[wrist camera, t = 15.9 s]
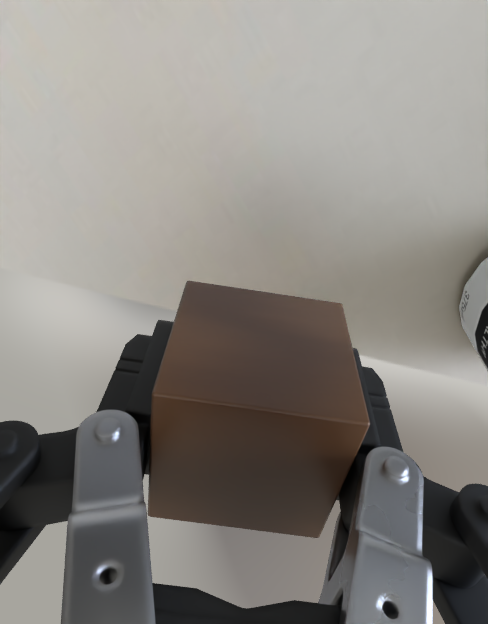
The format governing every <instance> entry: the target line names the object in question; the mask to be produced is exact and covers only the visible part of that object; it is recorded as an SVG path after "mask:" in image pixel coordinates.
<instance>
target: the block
mask: <svg viewBox="0 0 488 624" xmlns="http://www.w3.org/2000/svg"><path fill="white" fill-rule="evenodd" d="M369 426H370V421H369V417H368V412H367V408H366V404H365V400H364V395H363V391H362V387H361V383H360V378H359V374H358V370H357V365H356V361H355V357H354V353H353V348H352V344H351V340H350V335H349V331H348V327H347V323H346V318H345V314H344V310H343V305H342V304H341V303H335V302H329V301H322V300H315V299H308V298H302V297H295V296H288V295H281V294H275V293H268V292H261V291H255V290H248V289H241V288H234V287H228V286H221V285H214V284H208V283H201V282H194V281H187V282H186V285H185V288H184V291H183V294H182V298H181V301H180V304H179V307H178V311H177V314H176V317H175V320H174V323H173V327H172V330H171V333H170V336H169V339H168V343H167V346H166V349H165V352H164V356H163V359H162V362H161V365H160V368H159V372H158V375H157V378H156V381H155V385H154V388H153V391H152V399H151V430H150V462H149V495H148V516H150V517H157V518H165V519H173V520H181V521H188V522H196V523H204V524H212V525H219V526H227V527H235V528H243V529H251V530H258V531H266V532H274V533H282V534H290V535H298V536H305V537H313V538H318V537H319V536H320V534H321V532H322V530H323V528H324V525H325V523H326V521H327V519H328V516H329V514H330V512H331V510H332V507H333V505H334V503H335V501H336V499H337V497H338V494H339V492H340V490H341V488H342V485H343V483H344V481H345V479H346V477H347V474H348V472H349V470H350V468H351V466H352V463H353V461H354V459H355V457H356V455H357V452H358V450H359V448H360V446H361V443H362V441H363V439H364V437H365V435H366V432H367V430H368V428H369Z"/></svg>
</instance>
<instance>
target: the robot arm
mask: <svg viewBox="0 0 488 624" xmlns="http://www.w3.org/2000/svg"><path fill="white" fill-rule="evenodd" d="M173 323H174V322H170V321H163V320H158V322H157V324H156V327H155V330H154V332H153V335H152V336H146V335H140V334H137V335H136V336H135V337H134V338H133V339H132V340H130V341H129V342H128V343H127V344H126V345H125V347H124V350H123V352H122V354H121V357H120V360H119V361H118V364H117V366H116V370H115V371H114V373H113V375H112V378H111V380H110V382H109V385H108V387H107V389H106V391H105V394H104V396H103V398H102V401H101V403H100V405H99V408H98V410H97V412H96V413H94V414H92V415H90V416H89V417H88V418H86V419H85V420H84V421H83V422H82V423H81V425H80V426H79V427H77V428H75V429H72V430H68V431H64V432H57V433H49V434H42V435H38V433H37V431H36V430H35V428H34V427H32V426H31V425H30V424H28V423H25V422H22V421H5V422H0V584H1V583H2V581H3V580H4V579H5V577H6V576H7V575H8V573H9V572H10V571H11V570H12V568H13V567H14V566H15V565H16V563H17V562H18V561H19V559H20V558H21V557H22V555H23V554H24V553H25V552H26V550H27V549H28V548H29V546H30V545H31V544H32V543H33V541H34V540H35V539H36V537H37V536H38V535H39V534H40V532H41V531H42V530H43V528H44V527H45V526H46V525H48V524H53V523H58V522H63V521H68V525H67V541H66V554H65V569H64V585H63V600H62V615H61V624H432V599H433V601H434V603H435V605H436V607H437V609H438V611H439V612H440V614H441V616H442V618H443V620H444V622H445V624H488V486H486V485H482V484H469V485H466V486H465V487H464V488H462V490H461V491H460V492H456V491H454V490H452V489H449V488H447V487H445V486H442V485H440V484H438V483H435V482H433V481H431V480H429V479H427V478H426V477H424V476H423V475H422V472H421V470H420V468H419V466H418V465H417V464H416V462H415V461H414V460H413V459H412V458H410V457H409V456H408V455H406V454H405V453H404V452H403V449H402V446H401V443H400V439H399V436H398V432H397V429H396V426H395V423H394V419H393V415H392V412H391V410H390V405H389V402H388V399H387V398H386V392H385V388H384V385H383V382H382V380H381V379H380V378H379V376H378V375H377V374H376V373H375V371H374V370H373V369H372V368H368V367H362V366H361V362H360V358H359V354H358V350H357V349H355V348H353V353H354V357H355V361H356V365H357V370H358V374H359V378H360V383H361V387H362V391H363V395H364V400H365V404H366V408H367V412H368V417H369V421H370V426H369V428H368V430H367V432H366V435H365V437H364V439H363V441H362V443H361V446H360V448H359V450H358V452H357V455H356V457H355V459H354V461H353V463H352V466H351V468H350V470H349V472H348V474H347V477H346V479H345V481H344V483H343V485H342V488H341V490H340V492H339V494H338V497H337V499H336V500H339V502H340V509H341V512H340V514H339V516H338V518H337V521H336V526H335V530H334V536H333V540H332V545H331V551H330V556H329V560H328V565H327V570H326V576H325V580H324V585H323V589H322V593H321V596H320V599H319V602H318V603H311V602H303V601H295V600H294V601H288V602H283V603H277V604H272V605H266V606H260V607H255V608H249V609H246V608H241V607H238V606H236V605H234V604H231V603H229V602H226V601H224V600H222V599H220V598H217V597H215V596H213V595H210V594H208V593H205V592H203V591H201V590H199V589H196V588H188V587H180V586H172V585H163V584H155V583H152V575H151V574H152V573H151V561H150V549H149V536H148V523H147V512H146V504H145V502H144V495H143V482H142V481H143V477H144V474H148V475H149V462H150V430H151V399H152V391H153V388H154V385H155V381H156V378H157V375H158V372H159V368H160V365H161V362H162V359H163V356H164V352H165V349H166V346H167V343H168V339H169V336H170V333H171V330H172V327H173Z"/></svg>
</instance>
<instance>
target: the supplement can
mask: <svg viewBox="0 0 488 624" xmlns="http://www.w3.org/2000/svg"><path fill="white" fill-rule="evenodd" d="M459 310H460V316H461V322H462V327H463V329H464V331H465V332H466V334H467V336H468V338H469V339H470V341H471V343H472V345H473V346H474V348H475V350H476V352H477V353H478V355H479V357H480V359H481V360H482V362H483V364H484V366H485V367H486V369H487V371H488V258H486V259H485V260H484V261H482V262H481V263H480V265H479V266H478V268H477V269H476V271H475V272H474V273H473V275H472V276H471V278H470V279H469V280H468V282H467V283H466V285H465V287H464V291H463V295H462V298H461V302H460V306H459Z"/></svg>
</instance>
